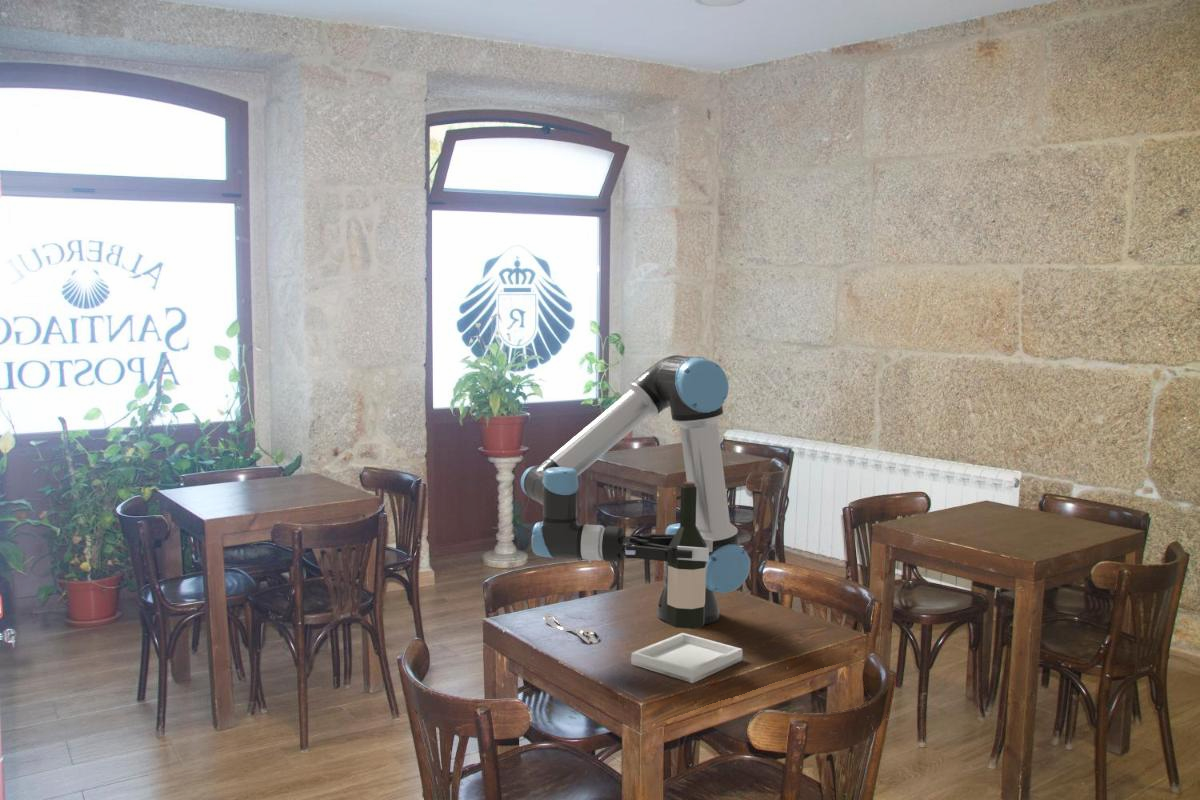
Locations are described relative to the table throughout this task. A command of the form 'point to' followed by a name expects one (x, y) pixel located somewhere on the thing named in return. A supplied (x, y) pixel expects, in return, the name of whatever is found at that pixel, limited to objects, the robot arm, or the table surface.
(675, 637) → the serving tray
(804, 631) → the table surface
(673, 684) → the table surface
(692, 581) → the wine bottle
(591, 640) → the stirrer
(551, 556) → the robot arm
